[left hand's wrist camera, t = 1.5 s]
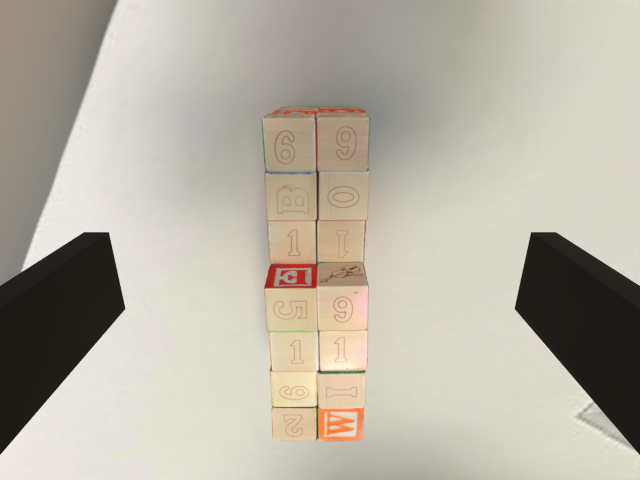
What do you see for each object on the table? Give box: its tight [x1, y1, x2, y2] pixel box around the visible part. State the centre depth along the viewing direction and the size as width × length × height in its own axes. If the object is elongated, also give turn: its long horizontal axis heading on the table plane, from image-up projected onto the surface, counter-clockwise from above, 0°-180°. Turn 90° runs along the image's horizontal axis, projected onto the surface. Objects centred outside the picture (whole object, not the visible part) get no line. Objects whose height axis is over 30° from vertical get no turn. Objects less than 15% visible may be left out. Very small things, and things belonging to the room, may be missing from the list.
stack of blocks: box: [262, 107, 370, 441], centre depth 29 cm, size 21×6×12 cm, turn 0°
